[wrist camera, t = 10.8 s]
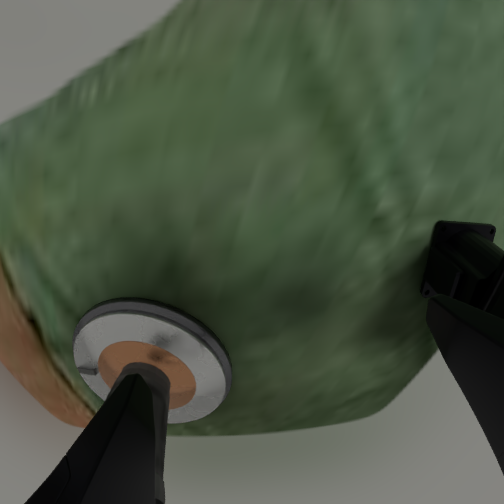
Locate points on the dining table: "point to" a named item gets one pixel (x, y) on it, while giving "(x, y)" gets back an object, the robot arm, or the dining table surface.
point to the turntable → (152, 359)
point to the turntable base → (169, 313)
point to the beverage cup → (161, 408)
